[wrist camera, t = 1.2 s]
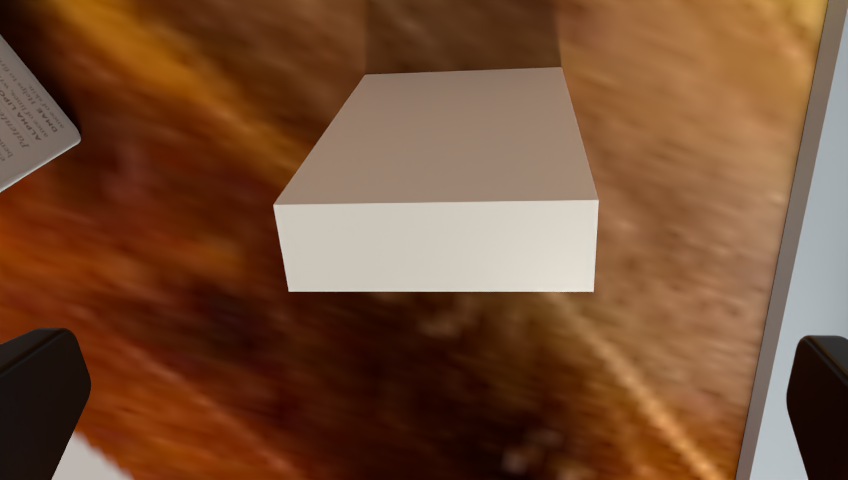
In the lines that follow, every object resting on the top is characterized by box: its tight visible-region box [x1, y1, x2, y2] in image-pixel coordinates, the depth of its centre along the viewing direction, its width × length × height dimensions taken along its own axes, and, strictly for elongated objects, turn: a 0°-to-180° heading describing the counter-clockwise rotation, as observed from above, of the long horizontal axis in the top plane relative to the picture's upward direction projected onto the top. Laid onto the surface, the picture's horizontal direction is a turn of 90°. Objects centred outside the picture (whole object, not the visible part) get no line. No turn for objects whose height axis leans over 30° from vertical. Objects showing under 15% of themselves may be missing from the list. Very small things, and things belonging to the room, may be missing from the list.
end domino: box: [273, 67, 599, 292], centre depth 14 cm, size 2×5×8 cm, turn 94°
